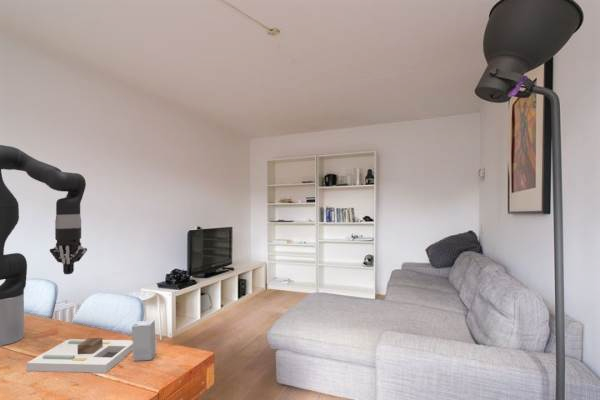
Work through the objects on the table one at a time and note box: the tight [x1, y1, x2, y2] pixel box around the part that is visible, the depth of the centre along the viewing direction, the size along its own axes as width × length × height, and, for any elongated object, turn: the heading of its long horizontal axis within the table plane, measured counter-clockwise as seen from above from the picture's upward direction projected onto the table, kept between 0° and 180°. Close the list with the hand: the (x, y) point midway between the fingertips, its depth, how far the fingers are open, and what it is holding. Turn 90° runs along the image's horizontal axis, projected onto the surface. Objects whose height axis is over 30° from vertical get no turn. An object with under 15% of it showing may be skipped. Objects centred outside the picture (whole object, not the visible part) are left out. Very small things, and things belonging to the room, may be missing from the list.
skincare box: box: [131, 320, 157, 362], centre depth 101 cm, size 6×4×12 cm
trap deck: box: [25, 338, 133, 374], centre depth 101 cm, size 26×16×3 cm, turn 87°
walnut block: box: [78, 337, 103, 354], centre depth 101 cm, size 5×5×3 cm
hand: (68, 273), depth 108 cm, fingers closed
